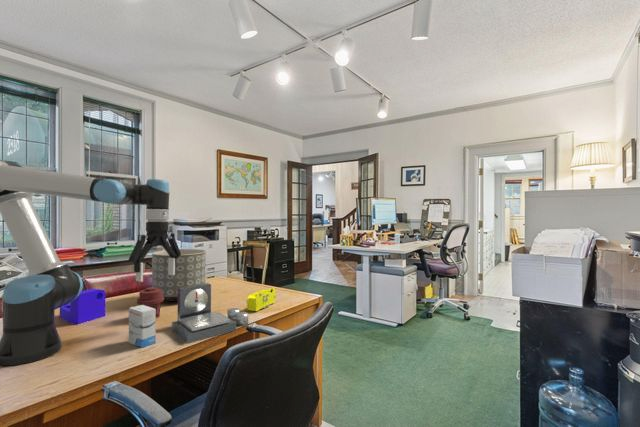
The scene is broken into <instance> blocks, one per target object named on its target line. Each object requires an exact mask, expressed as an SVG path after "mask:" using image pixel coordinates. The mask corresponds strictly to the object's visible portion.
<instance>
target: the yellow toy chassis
mask: <svg viewBox="0 0 640 427" xmlns="http://www.w3.org/2000/svg"><path fill="white" fill-rule="evenodd" d="M274 303H276V289H275V287H270V288H268V289H266V288H263V289H261V290H259V291H256V292H253V293H251V294H249V295H248V296H247V297H246V310H247V311H248V310H249V312H258V311H260V310H261V309H266V307H267V308H269V306H271V305H272V304H274Z"/></svg>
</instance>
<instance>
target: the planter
mask: <svg viewBox="0 0 640 427" xmlns="http://www.w3.org/2000/svg"><path fill="white" fill-rule="evenodd" d="M179 250H180V253H181V255H180V256H179V257H178V258H176V266H175V275H168V261H169V258H171V257H170V256H169V254H168V253H167V252H166V250H165V249H163V250H159V251H157V250H156V251H154V252H152V253H151V262H152V264H151V287H156V288H159V289H162V296H164V300H166V301H170V302H178V287H185V286H191V285H198V284H205V283H206V266H207V265H206V261H207V260H206V259H207V258H206V255H207V254H206V250H205V249H198V248H197V249H194V248H190V249H189V248H185V249H183V248H179Z"/></svg>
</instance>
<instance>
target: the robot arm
mask: <svg viewBox="0 0 640 427" xmlns="http://www.w3.org/2000/svg"><path fill="white" fill-rule="evenodd" d="M170 193H171V192H170V184H169V181H168V180H165V179H158V178H157V179H156V178H155V179H154V178H153V179H151V178H149V179H147V180H146V183H145V184H134V183H132V184H131V183H127V182H123V181H118V180H116V179H111V178H98V177H92V176H86V175H85V176H84V175H79V174H78V175H77V174H71V173H66V172H65V173H63V172H56V171H50V170H43V169H36V168H30V167H28V168H27V167H25V166H24V165H21V164H19V163H16V162H14V161H11V160H3V159H0V215H1V217H2V219H3V221H4V223H5V225H6V227H7V229H8V231H9V233H10V236H11V238H12V240H13V241H14V244H15V245H16V248H17V250H18V252H19V254H20V256H21V258H22V260H23V261H24V262H23V263H24V265H25V266H26V268H27V270H28V273H27V275H26V276H25V277H24V276H23V277H19V278H15V279H12V280H11V281H8V282H7V283H6V284H5V285H4V287H3V292H2V295H1V296H2V297H1V299H2V336H1V337H0V366H1V367H2V366H3V367H4V366H5V367H7V366H17V365H23V364H28V363H33V362H37V361H40V360H43V359H46V358H48V357H51V356H53V355H54V354H56V353H58V352H59V351H60V350H62V339H61V336H60V334H59V332H58V330H57V328H56V325H55V311H56V310H58V309H60V307H62V306H64V305H70V303H71V302H72V301H73V300H74V299H76V298H77V297H78V296H79V295H80V293H81V291H83V287H84V283H83V279H82V277H81V276H80V275H79V273H77V272H75V271H73V270H71V269H70V267H69V264H68V263H67V262H63V261H62V260H60V258H59V256H58V254H57V251H56V250H55V247H54V246H53V243H52V241H51V240H50V237H49V235H48V233H47V231H46V228H45V227H44V225H43V222H42V220H41V218H40V216H39V215H38V212H37V210H36V208H35V206H34V204H33V202H32V200H31V199H32V197H34V194H37V195H43V196H44V195H45V196H52V197H60V198H67V199H76V200H84V201H91V202H98V203H99V202H100V203H105V204H111V205H120V206H123V205H133V206H134V205H135V206H136V205H140V206H141V205H142V206H143V205H144V206H145V207H146V208H145V209H146V210H145V220H146V222H145V231H146V235H145V234H138V235H137V240H136V243H135V245H134V247H133V249H132V251H131V253H130V256H129V257H128V262H131V263H133V271H134V273H135V281H136V282H140V283H141V282H144V262H142V261H143V260H144V259H145V257H147V254H148V253H149V252H150V251H151V249H153V248H154V247H158V246H160V247H162V248H163V250H166V252H167V253H168V254H169V256H170V257H171V258H169V261H168V275H175V266H176V258H178V257H179V256H180V255H181V253H180V250H179V249H180V248H179V246H178V243H177V241H176V238H175V236H176V235H175V233H173V232H169V224H170V222H169V221H168V220H169V219H170V217H169V215H170V212H169V211H170V207H169V206H170Z"/></svg>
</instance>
